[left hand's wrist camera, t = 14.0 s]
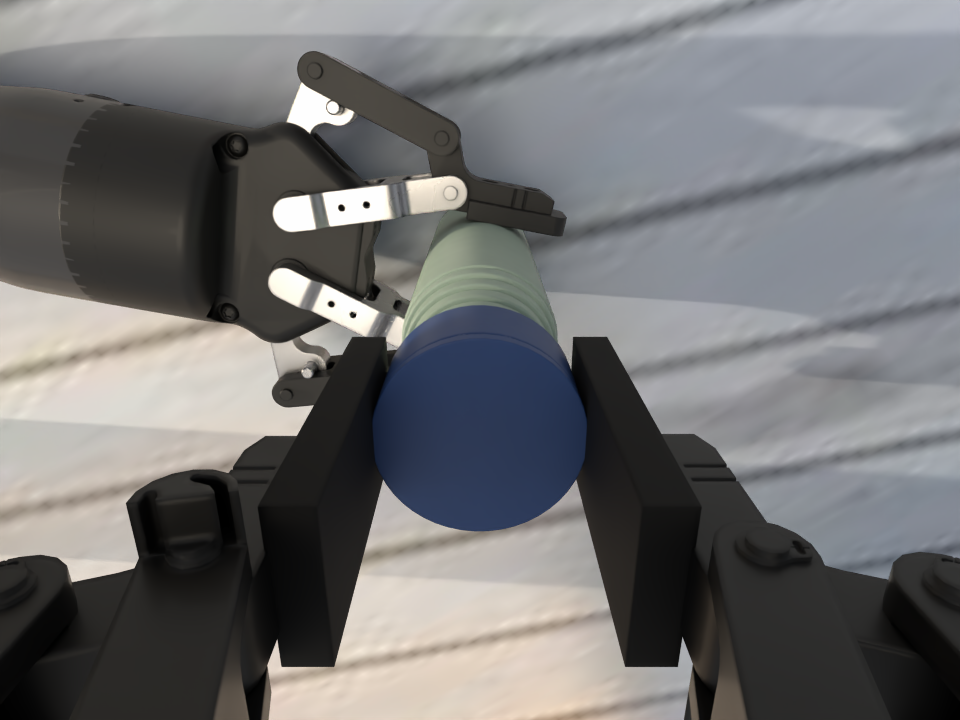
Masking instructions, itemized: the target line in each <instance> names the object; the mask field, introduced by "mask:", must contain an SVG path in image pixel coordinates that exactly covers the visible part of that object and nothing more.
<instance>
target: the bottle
mask: <svg viewBox="0 0 960 720" xmlns="http://www.w3.org/2000/svg"><path fill="white" fill-rule="evenodd" d="M466 217H467V213H465V212H460V211H455V210H448V211H447V212H446V213H445V215H444V216H443V217H442V219H441V221H440V222H439V224H438V227H437V230H436V233H435V235H434V238H433V241H432V244H431V246H430V249H429V252H428V255H427V257H426V260H425V263H424V266H423V268H422V271H421V274H420V277H419V279H418V282H417V285H416V288H415V291H414V293H413V296H412V299H411V302H410V304H409V307H408V310H407V313H406V315H405V318H404V323H403V327H402V342H403V341H404V339H405V338H406V337H407V336H408V335H409V334H410V333H411V332H412V331H413V330H414V329H415V328H416V327H418V326H419V325H420V324H422V323H423V322H424V321H426V320H428V319H429V318H431V317H433V316H435V315H437V314H439V313H442V312H444V311H447V310H450V309H454V308H457V307H463V306H470V305H488V306H497V307H501V308H506V309H510V310H512V311H515V312H517V313H520V314H522V315H524V316H526V317H528V318H530V319H532V320H533V321H535V322H536V323H538V324H539V325H540V326H542V327H543V328H544V329H545V330H546V331H547V332H548V333H549V334H550V335H551V336H552V337H553V338H554V339H555V341H556V342H557V343H558V340H557V326H556V322H555V318H554V314H553V312H552V309H551V306H550V303H549V301H548V298H547V295H546V292H545V289H544V287H543V284H542V281H541V278H540V276H539V273H538V270H537V267H536V265H535V262H534V259H533V256H532V254H531V251H530V248H529V245H528V242H527V240H526V237H525V234H524V231H523V230H520V229H515V228H509V227H504V226H499V225H494V224H490V223H483V222H478V221H472V220H467V219H466Z"/></svg>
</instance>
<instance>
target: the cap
mask: <svg viewBox="0 0 960 720" xmlns="http://www.w3.org/2000/svg"><path fill="white" fill-rule="evenodd" d="M372 425H373V440H374V454H375V463H376V465H377V468H378V470H379V473H380V474H381V476H382V478H383V480H384V481H385V483H386V485H387V486H388V487H389V489H390V490H391V491H392V492H393V494H394V495H395V496H396V497H397V498H398V499H399V500H400V501H401V502H402V503H403V504H405V505H406V506H407V507H408V508H410V509H411V510H412V511H414V512H415V513H417V514H419V515H420V516H422V517H424V518H426V519H428V520H430V521H432V522H434V523H437V524H440V525H443V526H446V527H449V528H454V529H459V530H467V531H493V530H501V529H505V528H509V527H513V526H517V525H519V524H522V523H525V522H527V521H529V520H531V519H533V518H535V517H537V516H539V515H541V514H542V513H544V512H545V511H547V510H548V509H550V508H551V507H552V506H553V505H555V504H556V503H557V502H558V501H559V500H560V499H561V498H562V497H563V496H564V495H565V494H566V493H567V492H568V490H569V489H570V487H571V486H572V485H573V483H574V482H575V480H576V478H577V476H578V474H579V472H580V471H581V468H582V466H583V463H584V459H585V446H586V432H587V417H586V413H585V409H584V406H583V403H582V400H581V397H580V394H579V391H578V388H577V386H576V383H575V380H574V377H573V374H572V371H571V369H570V366H569V363H568V361H567V358H566V356H565V354H564V352H563V351H562V349H561V347H560V346H559V344H558V343H557V342H556V341H555V339H554V338H553V337H552V336H551V335H550V334H549V333H548V332H547V331H546V330H545V329H544V328H543V327H542V326H540V325H539V324H538V323H536V322H535V321H533V320H532V319H530V318H528V317H526V316H524V315H522V314H520V313H517V312H515V311H512V310H510V309H506V308H501V307H497V306H488V305H470V306H463V307H457V308H454V309H450V310H447V311H444V312H442V313H439V314H437V315H435V316H433V317H431V318H429V319H428V320H426V321H424V322H423V323H422V324H420V325H419V326H418V327H416V328H415V329H414V330H413V331H412V332H411V333H410V334H409V335H408V336H407V337H406V338H405V339H404V341H403V342H402V343H401V345H400V346H399V347H398V349H397V351H396V353H395V355H394V357H393V359H392V361H391V364H390V367H389V369H388V372H387V375H386V378H385V381H384V384H383V386H382V389H381V392H380V395H379V398H378V401H377V404H376V406H375V409H374V413H373V418H372Z"/></svg>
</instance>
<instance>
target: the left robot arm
mask: <svg viewBox="0 0 960 720" xmlns="http://www.w3.org/2000/svg"><path fill="white" fill-rule="evenodd" d="M571 371H572V374H573V377H574V380H575V383H576V386H577V388H578V391H579V394H580V397H581V400H582V403H583V406H584V409H585V413H586V417H587V432H586V446H585V459H584V463H583V466H582V468H581V471H580V472H579V474H578V476H577V478H576V480H577V484H578V487H579V491H580V495H581V499H582V503H583V507H584V510H585V514H586V518H587V522H588V526H589V530H590V534H591V537H592V541H593V545H594V549H595V553H596V557H597V560H598V564H599V568H600V572H601V576H602V580H603V583H604V587H605V591H606V595H607V599H608V603H609V607H610V610H611V614H612V618H613V622H614V626H615V630H616V633H617V637H618V641H619V645H620V649H621V653H622V656H623V660H624V664H625V667H678V662H679V656H680V649H681V642H682V637H683V639H684V642H685V644H686V647H687V650H688V652H689V655H690V657H691V660H692V663H693V667H692V673H691V680H690V686H689V692H688V698H687V704H686V710H685V717H684V720H960V559H959V558H953V557H952V556H947V555H943V554H935V553H924V552H916V553H911V554H905V555H902V556H901V557H899V558H898V559H897V560H896V561H895V562H893V565H892V569H891V572H890V576H889V579H888V580H887V579H882V578H877V577H872V576H867V575H862V574H858V573H853V572H848V571H843V570H839V569H836V568H832V567H828V566H825V565H824V563H823V560H822V558H821V556H820V555H819V554H818V552H817V551H816V550H815V548H814V547H813V546H812V544H810V543H809V542H808V541H806V540H805V539H803V538H802V537H801V536H799V535H798V534H796V533H794V532H792V531H790V530H788V529H785V528H783V527H781V526H778V525H775V524H771V523H767V522H766V520H765V519H764V518H763V516H762V515H761V513H760V512H759V510H758V509H757V507H756V506H755V505H754V503H753V502H752V500H751V499H750V497H749V496H748V495H747V493H746V492H745V490H744V489H743V487H742V486H741V484H740V483H739V482H738V481H736V477H735V476H734V474H733V473H732V472H731V470H730V469H729V468H727V464H726V463H725V461H724V460H723V459H722V457H721V456H720V454H719V453H718V451H717V450H716V449H715V448H714V447H713V446H711V445H710V444H708V443H707V442H705V441H704V440H702V439H701V438H699V437H698V436H696V435H695V434H661V433H660V431H659V429H658V427H657V425H656V424H655V422H654V420H653V418H652V416H651V415H650V413H649V411H648V409H647V408H646V406H645V404H644V402H643V400H642V399H641V397H640V395H639V393H638V391H637V390H636V388H635V386H634V384H633V382H632V381H631V379H630V377H629V375H628V374H627V372H626V370H625V368H624V366H623V365H622V363H621V361H620V359H619V357H618V356H617V354H616V352H615V350H614V348H613V347H612V345H611V343H610V341H609V340H608V338H607V337H573V351H572V369H571ZM387 372H388V361H387V343H386V337H352V339H351V340H350V342H349V344H348V346H347V347H346V349H345V351H344V353H343V355H342V356H341V358H340V360H339V362H338V364H337V365H336V367H335V369H334V371H333V373H332V374H331V376H330V378H329V380H328V381H327V383H326V385H325V387H324V389H323V390H322V392H321V394H320V396H319V398H318V399H317V401H316V403H315V405H314V406H313V408H312V410H311V412H310V414H309V415H308V417H307V419H306V421H305V423H304V424H303V426H302V428H301V430H300V431H299V433H298V435H297V436H265V437H264V438H262V439H261V440H259V441H258V442H256V443H255V444H253V445H252V446H250V447H249V448H247V449H246V450H244V452H243V453H242V455H241V456H240V457H239V459H238V460H237V462H236V463H235V465H234V466H233V470H231V471H230V472H229V473H225V472H221V471H217V470H190V471H184V472H179V473H174V474H171V475H168V476H165V477H163V478H160V479H157V480H155V481H152V482H151V483H149V484H147V485H146V486H144V487H143V488H141V489H139V490H138V491H136V492H135V493H134V495H133V496H132V497H131V498H130V499H129V500H128V501H127V503H126V505H127V510H128V514H129V518H130V522H131V526H132V530H133V535H134V539H135V543H136V547H137V551H138V555H139V559H138V562H137V564H136V566H135V568H134V569H131V570H127V571H123V572H119V573H115V574H111V575H106V576H101V577H96V578H91V579H86V580H82V581H77V582H71V578H70V575H69V571H68V568H67V565H66V564H64V563H63V562H62V561H61V560H60V559H58V558H56V557H50V556H44V555H35V556H25V557H17V558H13V559H8V560H7V561H5V560H4V561H1V562H0V720H268V719H269V710H270V700H271V686H270V680H269V673H268V667H267V664H268V662H269V659H270V656H271V654H272V651H273V649H274V646H275V643H276V641H277V639H278V646H279V653H280V659H281V666H282V667H334V666H335V662H336V658H337V654H338V650H339V647H340V643H341V639H342V635H343V631H344V627H345V624H346V620H347V616H348V612H349V608H350V604H351V601H352V597H353V593H354V589H355V585H356V581H357V578H358V574H359V570H360V566H361V562H362V558H363V555H364V551H365V547H366V543H367V539H368V535H369V531H370V528H371V524H372V520H373V516H374V512H375V508H376V505H377V501H378V497H379V493H380V489H381V485H382V482H383V478H382V476H381V474H380V473H379V470H378V468H377V465H376V463H375V454H374V440H373V425H372V418H373V413H374V409H375V406H376V404H377V401H378V398H379V395H380V392H381V389H382V386H383V384H384V381H385V378H386V375H387Z"/></svg>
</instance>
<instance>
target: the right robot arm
mask: <svg viewBox="0 0 960 720" xmlns="http://www.w3.org/2000/svg"><path fill="white" fill-rule="evenodd" d="M297 71H298V76H299V78H300V80H301V84H300V86H299V89H298V92H297V94H296V97H295V100H294V102H293V105H292V108H291V110H290V113H289V116H288V118H287V121H286V122H278V123H274V124H272V125H269V126H267V127H264V128H259V129H257V128H248V127H243V126H238V125H233V124H228V123H222V122H217V121H212V120H207V119H202V118H197V117H192V116H187V115H181V114H176V113H171V112H166V111H161V110H156V109H151V108H146V107H141V106H135V105H130V104H125V103H120V102H119V101H117V100H114V99H111V98H108V97H104V96H100V95H95V94H89V95H79V94H74V93H69V92H63V91H58V90H51V89H45V88H34V87H13V86H0V281H2V282H5V283H8V284H11V285H14V286H18V287H21V288H25V289H29V290H34V291H39V292H44V293H49V294H55V295H60V296H66V297H72V298H77V299H83V300H89V301H94V302H100V303H106V304H111V305H117V306H123V307H129V308H134V309H140V310H146V311H151V312H157V313H163V314H169V315H174V316H180V317H186V318H192V319H197V320H203V321H209V322H219V323H230V324H235V325H239V326H241V327H243V328H245V329H247V330H249V331H251V332H252V333H253V334H255V335H256V336H258V337H259V338H260V339H262V340H264V341H267V342H271V346H272V350H273V355H274V359H275V363H276V367H277V372H278V376H279V380H278V381H277V383H276V384H275V385H274V387H273V389H272V396H273V399H274V400H275V402H276V403H278V404H279V405H281V406H283V407H299V406H310V405H315V403H316V401H317V399H318V398H319V396H320V394H321V392H322V390H323V389H324V387H325V385H326V383H327V381H328V380H329V378H330V376H331V374H332V373H333V371H334V369H335V367H336V365H337V364H338V362H339V360H340V358H341V356H342V355H336V356H330V354H329V352H328V351H327V350H326V349H325V348H323V347H321V346H313V345H309V344H307V343H305V342H304V341H303V340H302V339H301V338H300V336H301V335H303V334H305V333H308V332H310V331H312V330H314V329H316V328H318V327H320V326H323V325H325V324H327V323H329V322H331V321H333V322H335V323H337V324H339V325H341V326H343V327H345V328H347V329H349V330H351V331H353V332H356V333H358V334H360V335H362V336H364V337H386V342H387V343H389V344H391V345H393V346H395V347H397V348H398V347H399V346H400V345H401V343H402V327H403V323H404V318H405V315H406V313H407V310H408V307H409V304H410V301H408V300H406V299H404V298H403V297H401V296H400V295H399V294H398V293H397V292H396V291H395V290H394V289H392V288H390V287H388V286H386V285H384V284H382V283H380V282H378V281H376V280H374V274H375V261H374V253H373V245H374V243H375V241H376V238H377V236H378V233H379V231H380V228H381V220H389V219H396V218H401V217H404V216H408V215H414V214H422V213H431V212H439V211H447V210H455V211H460V212H465V213H467V217H466V219H467V220H472V221H478V222H483V223H490V224H494V225H499V226H504V227H509V228H515V229H520V230H525V231H530V232H536V233H541V234H546V235H552V236H563V232H564V227H565V223H566V219H567V217H566V216H565V215H564V214H563V213H562V212H560V211H557V210H553V205H554V200H553V199H552V198H551V197H550V196H549V195H547V194H546V193H544V192H543V191H541V190H540V189H536V188H530V187H525V186H520V185H514V184H510V183H505V182H500V181H494V180H489V179H484V178H479V177H476V176H474V175H473V174H471V173H470V172H469V170H468V169H467V168H466V166H465V163H464V158H463V152H462V146H461V140H460V139H461V133H460V129H459V128H458V126H457V125H456V124H455V123H454V122H453V121H451V120H449V119H447V118H445V117H443V116H442V115H440V114H438V113H436V112H434V111H432V110H431V109H429V108H427V107H425V106H423V105H421V104H419V103H418V102H416V101H414V100H412V99H410V98H408V97H407V96H405V95H403V94H401V93H399V92H397V91H395V90H394V89H392V88H390V87H388V86H386V85H384V84H382V83H381V82H379V81H377V80H375V79H373V78H371V77H370V76H368V75H366V74H364V73H362V72H360V71H358V70H357V69H355V68H353V67H351V66H349V65H347V64H345V63H344V62H342V61H340V60H338V59H336V58H334V57H331V56H329V55H326V54H323V53H320V52H316V51H311V52H307V53H305V54H304V55H303V56H302V57H301V58H300V60H299V62H298V66H297ZM358 114H359V115H361V116H362V117H364V118H366V119H368V120H370V121H372V122H374V123H376V124H378V125H379V126H381V127H383V128H385V129H387V130H389V131H391V132H393V133H395V134H397V135H398V136H400V137H402V138H404V139H406V140H408V141H410V142H412V143H414V144H415V145H417V146H419V147H421V148H423V149H425V150H427V153H428V159H429V164H430V169H431V173H423V174H415V175H399V176H391V177H383V178H375V179H367V180H362V179H361V178H360V177H359V176H358V175H357V174H356V173H355V172H354V171H353V170H352V169H351V168H350V167H349V166H348V165H347V164H346V163H345V162H344V161H343V160H342V159H341V158H340V157H339V156H338V155H337V153H336V152H335V151H334V150H333V149H332V148H331V147H330V146H329V145H328V144H327V143H326V142H325V141H324V140H323V139H322V138H321V137H320V136H319V135H318V134H317V133H316V131H317V129H318V128H319V127H320V126H321V125H323V124H324V123H330V124H333V125H337V126H341V125H348V124H350V123H352V122H353V121H354V120H355V119H356V117H357V115H358ZM368 293H369V294H368ZM353 312H355V313H356V314H354V313H353ZM396 351H397V350H389V351H387V361H388V369H389V367H390V364H391V361H392V359H393V357H394V355H395V353H396Z"/></svg>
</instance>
